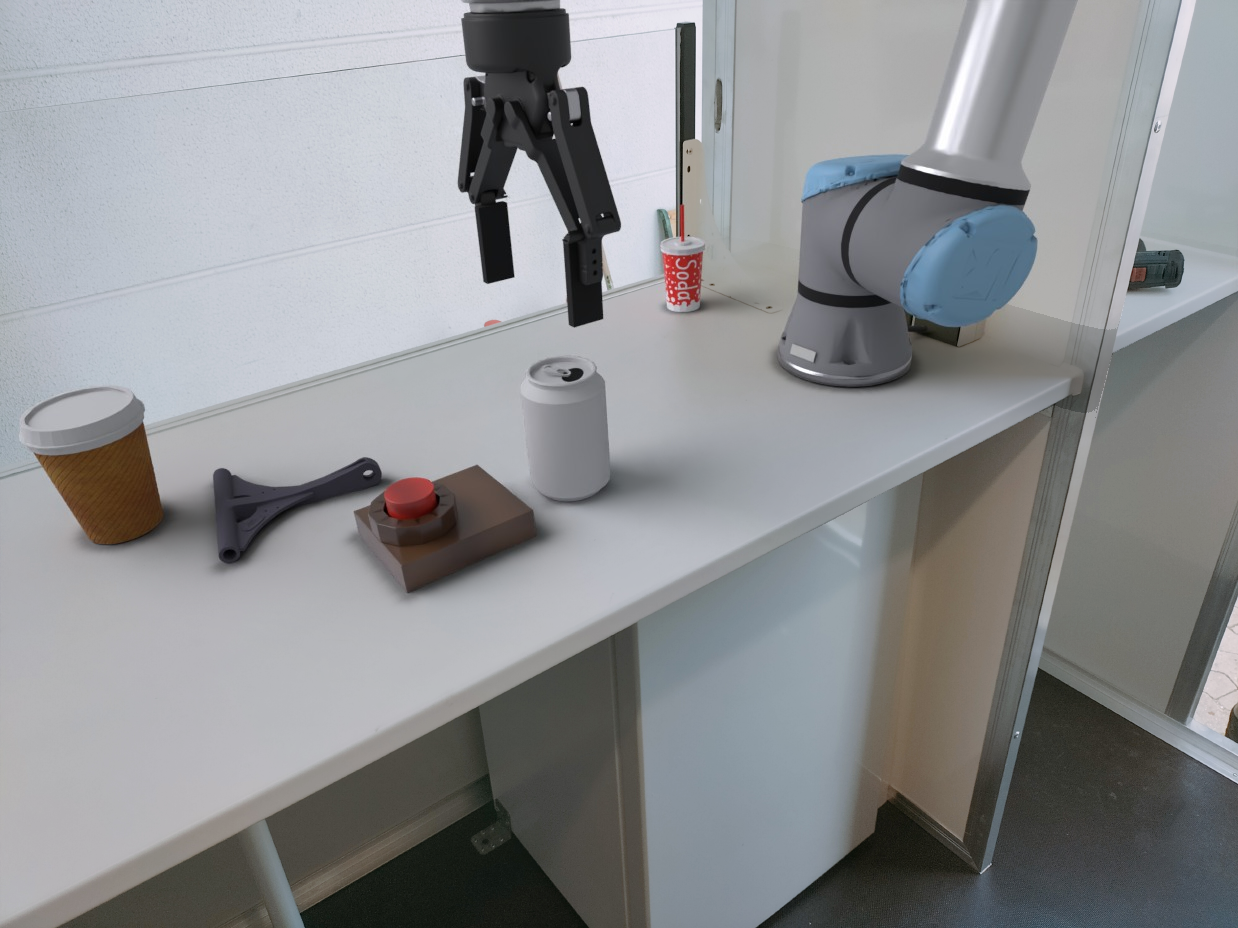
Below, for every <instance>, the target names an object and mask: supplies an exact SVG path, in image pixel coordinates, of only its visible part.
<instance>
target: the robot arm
mask: <svg viewBox="0 0 1238 928" xmlns="http://www.w3.org/2000/svg"><path fill="white" fill-rule="evenodd" d="M460 1H461V2H462V3H463V4H468V6H469V11H468V12H464V13H463V17H461V18H460V20H461V21H460V22H461V30H462V31H461V32H462V38H463V47H464V56H465V63H466V66H467V67H468V69H469V70H471V71H473V72H476V73H483V74H484V75H475V76H468V77H464V78H463V97H464V98H463V99H464V112H463V113H464V114H463V122H462V123H463V124H462V133H461V143H460V144H461V145H460V154H459V162H458V163H459V164H458V174H457V189H458V190H459V192H460V193H462V194H464V193H467V194H468V195H467V196H468V200H469V202H470V203H471V204H472V205H474V214H475V222H476V231H477V238H478V239H477V240H478V249H479V256H480V265H481V272H482V281H483V283H485V284H486V285H490V284H493V283H498V282H503V281H506V280H509V279H514V278H515V267H514V257H513V247H512V238H511V228H510V227H511V226H510V218H509V207H508V202H506V201H505V200H502V199H506V198H508V197H509V196H508V194H507V192H506V190H505V185H506V182H507V180H508V177H509V174H510V171H511V169H512V165H513V163H514V161H515V157H516V154H517V151H518V150H519V151H523V152H525V155H526V156H527V158H528V159H530V160H531V161H533V162H535V163H536V164H537V166H538V168H539V171H540V173H541V175H542V178H543V179H544V182H545V185H546V187H547V188H548V191H549V193H550V195H551V198H552V200H553V202H554V204H555V206H556V209H557V211H558V213H559V215H560V218H561V220H562V221H563V224H564V226H565V228H566V230H567V233H566V234H565V235H564V236H563V238H562V239H561V241H562V247H563V249H562V250H563V261H564V276H565V291H566V305H567V306H566V307H567V319H568V320H567V321H568V326H570V327H571V328H578V327H581V326H585V325H588V324H591V323H594V322H595V323H596V322H598V321H601V320H604V303H603V302H604V301H603V300H604V299H603V286H602V285H603V283H602V282H603V279H604V268H603V267H604V265H603V243H602V242H603V238H604V236H608V235H611V234H614V233H618V232H620V231H621V229H622V221H621V218H620V214H619V211H618V208H617V204H616V200H615V197H614V194H613V191H612V187H611V184H610V180H609V177H608V174H607V169H606V168H605V163H604V160H603V158H602V157H603V156H602V154H601V150H600V148H599V144H598V141H597V137H596V133H595V131H594V127H593V124H592V117H591V109H590V100H589V99H590V98H589V93H588V91H587V88H585V87H584V86H577V87H568V88H561V86H560V82H559V77H558V73H559V71H560V69H563V68H565V67H567V66H568V65H569V64H570V63H571V61H572V44H571V43H572V42H571V28H570V25H571V24H570V14H569V13H568V12H567V9H566V8H563V7H561V0H460ZM1078 1H1079V0H967V1H966V3H965V7H964V10H963V14H962V17H961V20H960V24H959V27H958V30H957V34H956V37H955V40H954V44H953V47H952V50H951V53H950V58H949V60H948V64H947V67H946V70H945V74H944V76H943V81H942V83H941V86H940V90H939V92H938V96H937V100H936V103H935V107H934V110H933V113H932V116H931V120H930V123H929V127H928V130H927V133H926V137H925V140H924V143H923V144H922V145H921V146H920V147H919V148H918V149H916V150H915V151H913V152H911V153H910V154H899V153H898V154H897V153H895V154H893V153H891V154H890V153H889V154H870V155H869V154H868V155H857V156H856V155H855V156H845V157H839V158H832V159H826V160H822V161H819V162H816V163H814V164H813V165H811V167H810V168H809V169H807V172H806V174H805V177H804V183H803V184H804V185H803V189H802V196H801V198H800V199H801V200H800V201H801V203H802V205H801V206H802V207H801V226H800V243H799V244H800V245H799V261H798V279H797V280H798V281H797V294H796V298H795V300H794V303H793V306H792V308H791V310H790V313H789V316H788V318H787V321H786V323H785V326H784V330H783V332H782V333H781V336H780V338H779V343H778V351H777V360H778V362H779V365H780V366H781V367H782V368H783V370H785V371H787V372H788V373H789V374H791V375H793V376H795V377H798V378H800V379H802V380H805V381H808V382H812V383H815V384H820V385H827V386H832V387H833V386H834V387H835V386H836V387H850V388H852V387H853V388H855V387H856V388H857V387H868V386H869V387H870V386H875V385H877V386H878V385H881V384H886V383H889V382H892V381H894V380H897V379H899V378H901V377H903V376H904V375H905V374H906V373H907V372H908V371H909V370H910V368H911V366H912V360H913V359H912V357H913V345H912V340H911V338H910V335H909V333H913V332H914V333H916V332H918V333H919V332H927V331H928V329H929V328H928V326H927V325H926V324H925V325H908V321H907V317H906V313H907V314H909V315H911V316H913V317H914V318H917V319H920V320H927V321H929V322H931V323H933V324H935V325H938V326H941V327H946V328H961V327H962V328H963V327H967V326H971V325H974V324H977V323H979V322H980V323H981V322H982V321H984V320H986V319H987V318H990V316H991V315H992V314H994V312H996V311H997V310H998V311H999V310H1001V309H1002V308H1004V307H1005V306H1006V305H1007V304H1008V303H1009V302H1010V301H1011V300H1012V299H1013V298H1014V297H1015V296H1016V295H1017V293H1018V292H1019V291H1020V290H1021V288H1022V287H1023V285H1024V284H1025V282H1026V281H1027V279H1028V277H1029V275H1030V273H1031V271H1032V270H1033V266H1034V264H1035V260H1036V257H1037V251H1038V237H1036V235H1035V233H1036V227H1035V225H1034V223H1033V222H1032V219H1030V217H1028V215H1027V214H1026V212H1024V208H1025V205H1026V203H1027V200H1028V197H1029V194H1030V192H1031V189H1032V183H1031V182H1030V180H1029V178H1028V176H1027V175H1026V172H1025V170H1024V169H1023V164H1022V160H1023V158H1024V156H1025V153H1026V149H1027V147H1028V145H1029V141H1030V138H1031V135H1032V132H1033V130H1034V127H1035V124H1036V121H1037V118H1038V115H1039V112H1040V109H1041V108H1042V104H1043V101H1044V99H1045V96H1046V93H1047V89H1048V87H1049V85H1050V81H1051V79H1052V75H1053V72H1054V69H1055V66H1056V64H1057V62H1058V58H1059V55H1060V54H1061V53H1060V52H1061V50H1062V47H1063V44H1064V41H1065V38H1066V36H1067V32H1068V30H1069V27H1070V24H1071V21H1072V18H1073V15H1074V13H1075V10H1076V7H1077V4H1078ZM471 174H473V175H471ZM497 200H501V201H497ZM922 326H924V327H922Z"/></svg>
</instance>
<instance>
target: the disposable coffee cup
mask: <svg viewBox="0 0 1238 928" xmlns="http://www.w3.org/2000/svg"><path fill="white" fill-rule="evenodd" d="M145 407H146V406H145V404H144V402H143V401H142V400H141V399H139V398H137V396H136V395H135V393H134V392H133V391H132V390H131V389H130V388H127V387H125V386H122V385H121V386H120V385H114V384H113V385H110V384H108V385H107V384H105V385H104V384H103V385H92V386H87V387H81V388H77V389H73V390H68V391H65V392H62V393H59V394H55V395H53V396H50V397H48V398H45V399H43V400H41V401H39V402H37V403H36V404H34V405H31V406H30V407H29V408H28V409H26V410H25V411H24V412H23V413H22V414H21V415H20V417H19V420H18V422H19V433H18V440H19V443H21V444H22V445H23V447H26V449H27V450H29V451H30V452H31V453H33V455H34V456H35V458H36V460H37V461H38V463H39V465H40V466H41V467H42V469H43V471H44V472H45V473H46V475H47V477H48V478H49V479H50V481H51V483H52V484H53V486H54V487H55V489H56V490H57V492H58V494H59V495H60V496H61V498H62V500H63V501H64V503H65V504H66V506H67V507H68V509H69V511H70V512H71V513H72V515H73V517H74V518H75V519H76V521H77V523H78V524H79V525H80V528H81V529H82V530H83V532H84V533H85V535H86V536H87V538H88V539H89V541H91V542H92V543H95V544H99V545H116V544H120V543H125V542H129V541H131V540H135V539H137V538H139V537H141V536H144V535H145V534H148V533H149V532H151V531H153V529H155V528H156V527H157V526H158V525H159V524H160V523H161V522H162V521H163V518H164V510H163V506H162V502H161V496H160V492H159V487H158V482H157V477H156V473H155V469H154V468H155V467H154V465H153V464H154V463H153V459H152V455H151V451H150V446H149V441H148V436H147V432H146V426H145V423H144V419H145V411H146V408H145Z"/></svg>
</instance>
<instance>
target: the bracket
mask: <svg viewBox="0 0 1238 928" xmlns="http://www.w3.org/2000/svg"><path fill="white" fill-rule="evenodd" d="M367 471H372V472H371V473H369V474H365V473H366V472H367ZM382 476H383V472H382V469H381V467H380V465H379V463H378V461H376V460H375V459H373V458H371V457H367V456H363V457H360V458H358V459H357V460H355V461H353V462H351V463H350V464H348V465H346V466H343V467H342V468H339V469H337V470H335V471H333V472H331V473H328V474H326V475H325V476H321V477H319V478H316V479H313V480H311V481H307V482H304V483H302V484H298V485H288V486H270V485H264V484H257V483H254V482H250V481H247V480H245V479H243V478H241V477H240V476H238V475H237V474H232V472H231V471H230V470H229V469H227V468H224V467H220V468H217V469H215V470H214V472H213V473H212V482H213V495H214V509H215V525H216V536H217V537H216V539H217V551H218V552H217V553H218V558H219V560H220V561H221V562H223V563H224V564H225V563H226V564H232V563H235V562H236V561H238V560H239V558H240V557H241V552H245V550H246V549H247V548H248V546H249V544H250V543H251V542H252V540H253V538H254V537H255V536H256V535H257V534H258V533H259V531H260V530H262V528H263V527H264V526H265V525H267V524H268V523H269V522H270V521H272V520H273V519H274V518H275V517H276V516H278V515H279V514H281V513H282V512H284V511H286V510H288V509H290V508H294V507H298V506H302V505H306V504H310V503H314V502H319V501H322V500H326V499H330V498H333V497H338V496H341V495H345V494H349V493H353V492H357V491H361V490H365V489H369V488H372V487H374V486H376V485H377V484H378V483H380V482H381V480H382ZM238 521H240V522H238Z"/></svg>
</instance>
